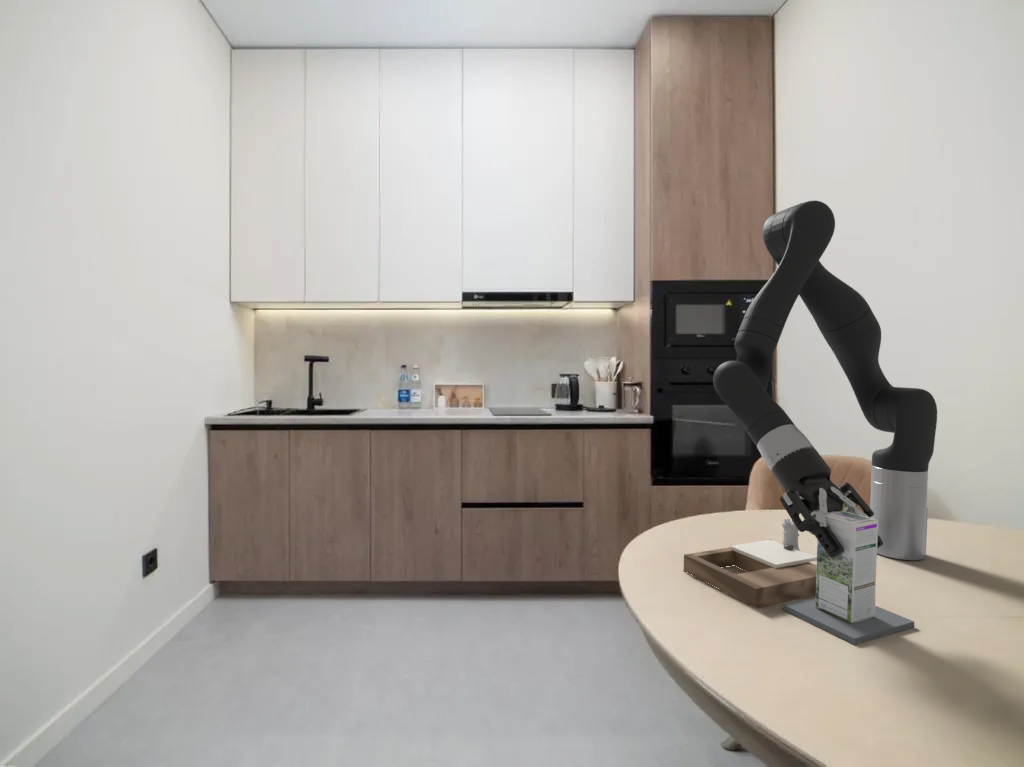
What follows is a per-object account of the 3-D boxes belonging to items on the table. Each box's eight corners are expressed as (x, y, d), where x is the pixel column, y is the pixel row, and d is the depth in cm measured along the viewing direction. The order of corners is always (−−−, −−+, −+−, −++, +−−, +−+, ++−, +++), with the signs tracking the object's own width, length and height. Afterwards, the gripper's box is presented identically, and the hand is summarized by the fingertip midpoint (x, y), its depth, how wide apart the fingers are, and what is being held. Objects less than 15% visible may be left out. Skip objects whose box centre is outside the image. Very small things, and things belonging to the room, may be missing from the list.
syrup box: (876, 617, 79) (880, 518, 79) (850, 624, 77) (854, 522, 76) (838, 601, 84) (842, 508, 84) (813, 608, 82) (816, 512, 81)
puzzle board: (757, 558, 105) (757, 542, 105) (835, 590, 91) (836, 572, 90) (683, 571, 98) (684, 554, 98) (755, 608, 83) (756, 588, 83)
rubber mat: (840, 596, 88) (841, 591, 88) (914, 627, 78) (914, 621, 78) (783, 609, 83) (783, 604, 83) (853, 644, 73) (854, 638, 73)
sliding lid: (769, 542, 105) (769, 536, 105) (817, 560, 96) (817, 553, 96) (730, 549, 101) (730, 542, 101) (776, 568, 92) (776, 561, 92)
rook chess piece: (806, 568, 101) (808, 525, 100) (780, 566, 101) (781, 523, 101) (798, 559, 105) (800, 518, 105) (773, 557, 106) (775, 516, 105)
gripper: (775, 447, 84) (843, 544, 73) (837, 443, 89) (909, 532, 79) (746, 475, 89) (807, 569, 79) (807, 469, 94) (871, 556, 84)
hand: (858, 551), depth 79 cm, fingers open, 8 cm apart
